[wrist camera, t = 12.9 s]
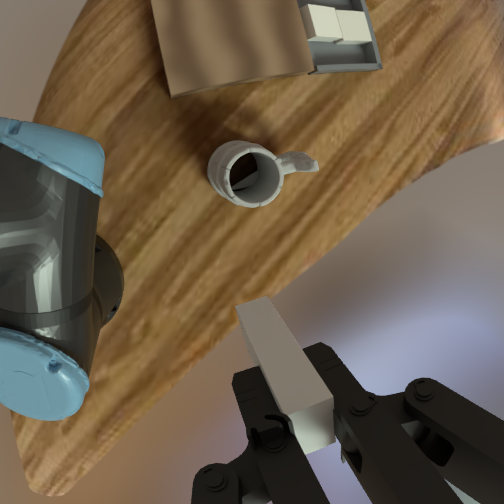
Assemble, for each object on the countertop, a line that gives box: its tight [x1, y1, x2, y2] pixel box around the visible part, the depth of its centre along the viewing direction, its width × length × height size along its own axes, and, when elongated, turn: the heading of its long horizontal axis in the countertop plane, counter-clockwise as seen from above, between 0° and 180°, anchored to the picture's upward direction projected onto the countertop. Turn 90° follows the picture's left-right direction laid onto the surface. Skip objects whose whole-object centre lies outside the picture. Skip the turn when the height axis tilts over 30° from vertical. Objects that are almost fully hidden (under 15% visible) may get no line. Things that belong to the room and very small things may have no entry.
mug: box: [207, 140, 319, 208], centre depth 36 cm, size 8×12×12 cm, turn 103°
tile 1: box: [335, 10, 372, 44], centre depth 36 cm, size 5×5×2 cm
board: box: [151, 0, 314, 99], centre depth 33 cm, size 18×14×4 cm
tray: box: [297, 0, 383, 75], centre depth 36 cm, size 11×14×3 cm
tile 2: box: [299, 4, 343, 42], centre depth 34 cm, size 5×5×2 cm
